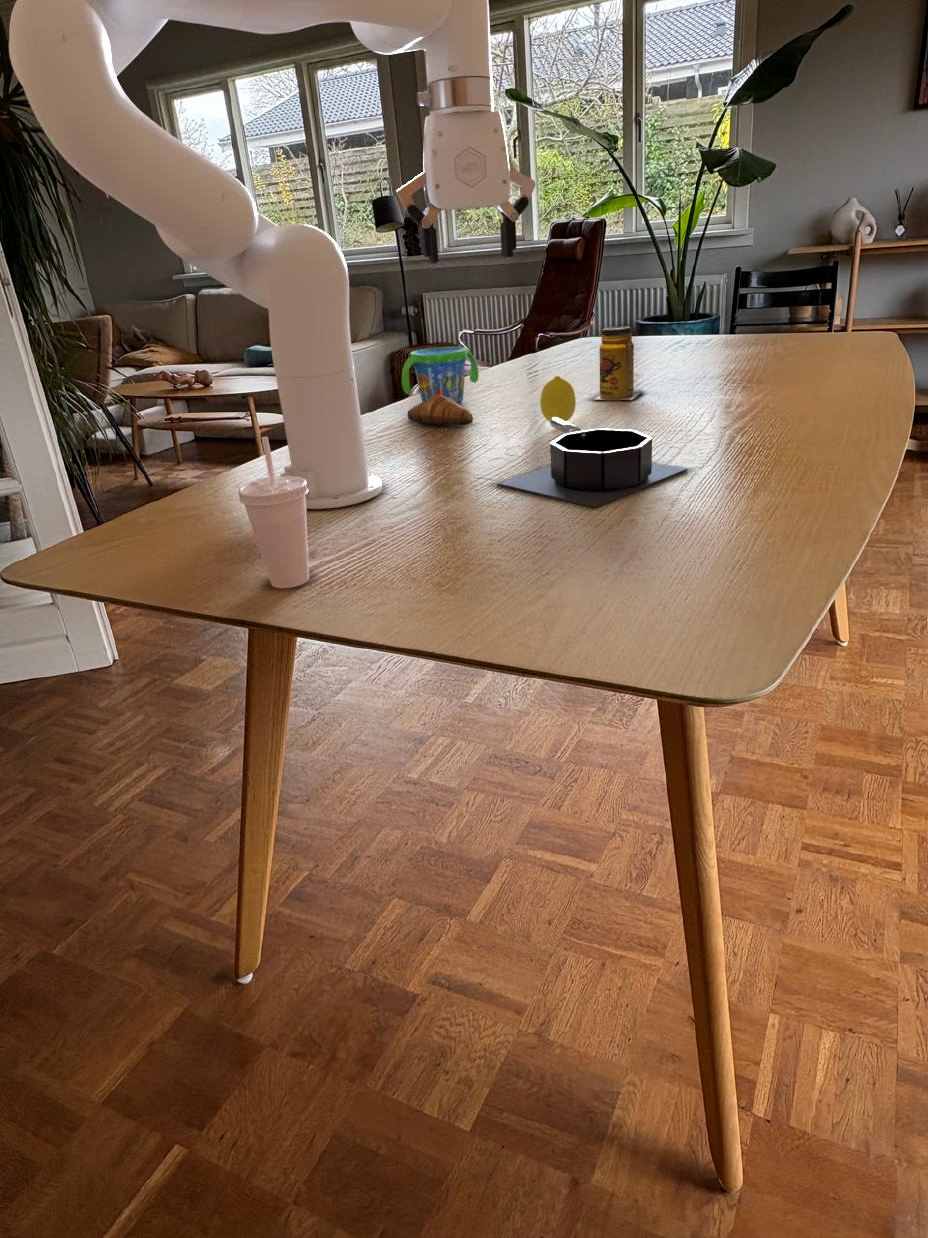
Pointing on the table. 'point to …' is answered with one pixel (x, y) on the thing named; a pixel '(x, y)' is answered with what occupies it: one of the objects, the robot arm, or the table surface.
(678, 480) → the table surface
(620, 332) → the condiment
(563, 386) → the lemon
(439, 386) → the snack cup
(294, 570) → the smoothie
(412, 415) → the croissant
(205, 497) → the table surface
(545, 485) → the mat
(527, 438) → the table surface
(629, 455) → the black octagonal pot
